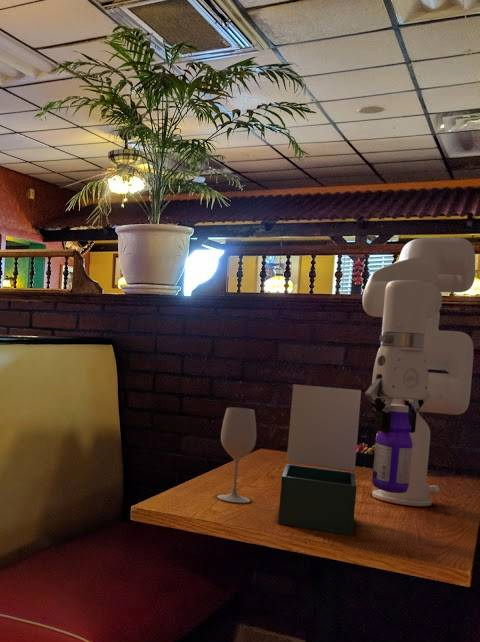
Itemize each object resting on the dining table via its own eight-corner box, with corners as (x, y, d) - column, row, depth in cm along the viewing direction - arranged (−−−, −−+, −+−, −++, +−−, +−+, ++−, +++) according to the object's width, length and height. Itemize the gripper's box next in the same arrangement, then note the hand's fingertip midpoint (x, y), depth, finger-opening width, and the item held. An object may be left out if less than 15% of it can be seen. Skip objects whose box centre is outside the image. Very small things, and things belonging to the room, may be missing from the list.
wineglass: (234, 504, 168) (241, 411, 167) (209, 496, 174) (216, 407, 173) (258, 502, 171) (265, 411, 170) (232, 494, 178) (239, 406, 177)
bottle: (414, 495, 148) (421, 407, 147) (385, 493, 148) (392, 405, 147) (393, 486, 155) (401, 403, 154) (366, 485, 155) (373, 401, 154)
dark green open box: (352, 535, 147) (356, 486, 147) (278, 523, 153) (281, 476, 153) (350, 517, 162) (354, 472, 162) (283, 507, 168) (286, 463, 168)
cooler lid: (361, 390, 163) (360, 390, 164) (293, 384, 169) (293, 384, 170) (354, 470, 161) (354, 470, 162) (286, 461, 167) (286, 461, 168)
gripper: (383, 341, 144) (375, 434, 145) (452, 345, 149) (444, 435, 150) (353, 339, 151) (345, 428, 152) (419, 343, 156) (412, 429, 157)
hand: (394, 430), depth 151 cm, fingers closed on bottle, 5 cm apart
